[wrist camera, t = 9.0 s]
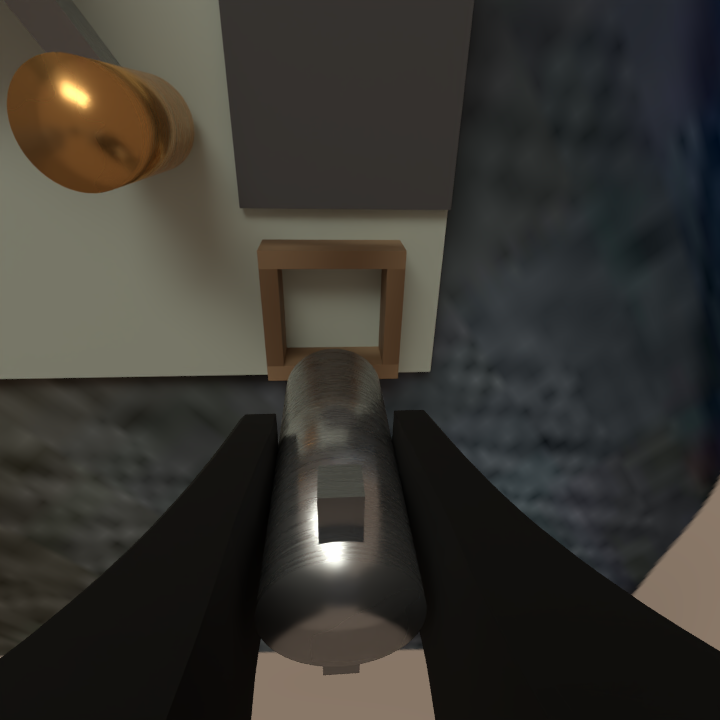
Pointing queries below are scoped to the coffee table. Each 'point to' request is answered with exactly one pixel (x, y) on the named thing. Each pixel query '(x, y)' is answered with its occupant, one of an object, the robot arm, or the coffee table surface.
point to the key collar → (331, 256)
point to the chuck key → (337, 524)
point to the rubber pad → (346, 101)
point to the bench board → (180, 237)
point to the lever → (91, 106)
